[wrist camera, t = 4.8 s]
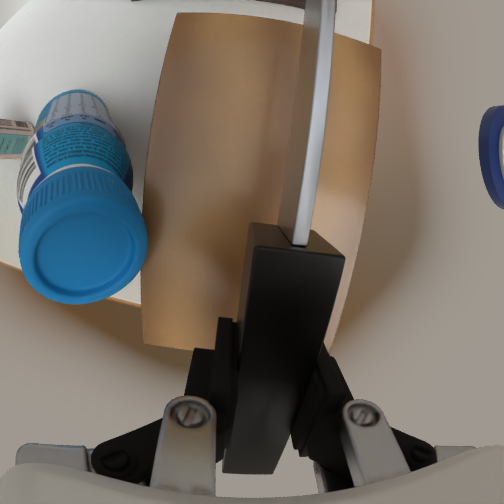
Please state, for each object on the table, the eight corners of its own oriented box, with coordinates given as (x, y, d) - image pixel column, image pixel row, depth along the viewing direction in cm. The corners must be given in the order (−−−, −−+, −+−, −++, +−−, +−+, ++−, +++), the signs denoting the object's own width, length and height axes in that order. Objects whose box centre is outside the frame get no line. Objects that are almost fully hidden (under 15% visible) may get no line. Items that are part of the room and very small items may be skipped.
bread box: (317, 98, 25) (381, 49, 12) (290, 280, 30) (328, 358, 17) (202, 81, 24) (176, 12, 10) (180, 269, 29) (143, 343, 16)
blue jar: (99, 73, 19) (140, 141, 9) (118, 141, 26) (184, 272, 16) (24, 111, 17) (-33, 243, 6) (52, 175, 23) (64, 334, 13)
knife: (267, 427, 12) (272, 474, 9) (223, 425, 12) (221, 473, 9) (339, -26, 6) (364, -65, 3) (286, -39, 6) (299, -83, 3)
